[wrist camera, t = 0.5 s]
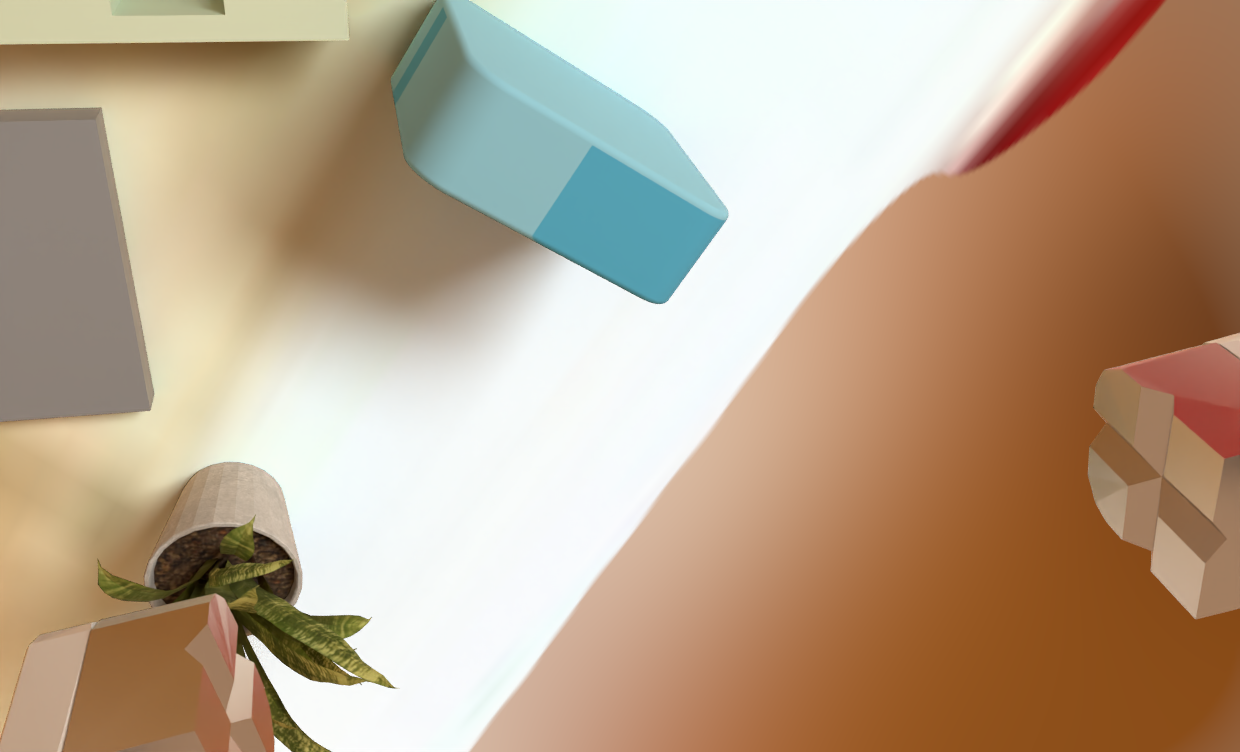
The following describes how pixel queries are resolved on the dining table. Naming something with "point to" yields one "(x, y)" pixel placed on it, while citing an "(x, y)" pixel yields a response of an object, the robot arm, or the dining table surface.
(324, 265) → the dining table surface
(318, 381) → the dining table surface
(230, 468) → the house plant
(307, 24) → the cream rectangular bar
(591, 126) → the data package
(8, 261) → the boss board
